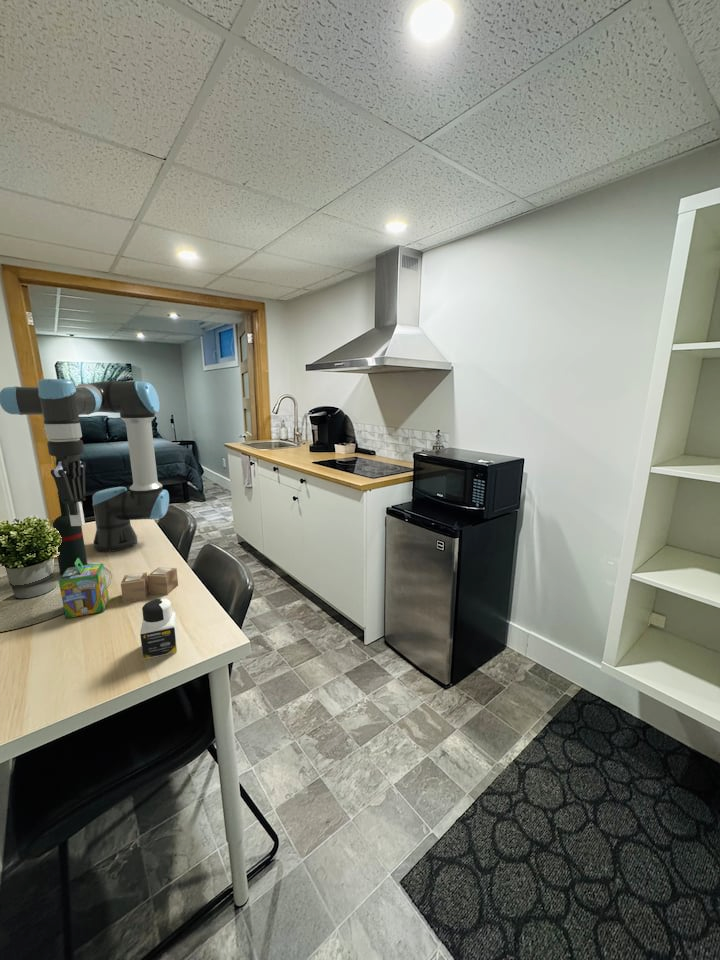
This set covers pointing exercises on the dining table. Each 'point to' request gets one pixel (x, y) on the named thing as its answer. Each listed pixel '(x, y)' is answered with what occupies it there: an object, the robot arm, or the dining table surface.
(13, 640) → the dining table surface
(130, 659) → the dining table surface
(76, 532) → the wine bottle
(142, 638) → the medicine bottle
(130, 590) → the walnut block
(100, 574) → the chalk box
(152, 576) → the walnut block
